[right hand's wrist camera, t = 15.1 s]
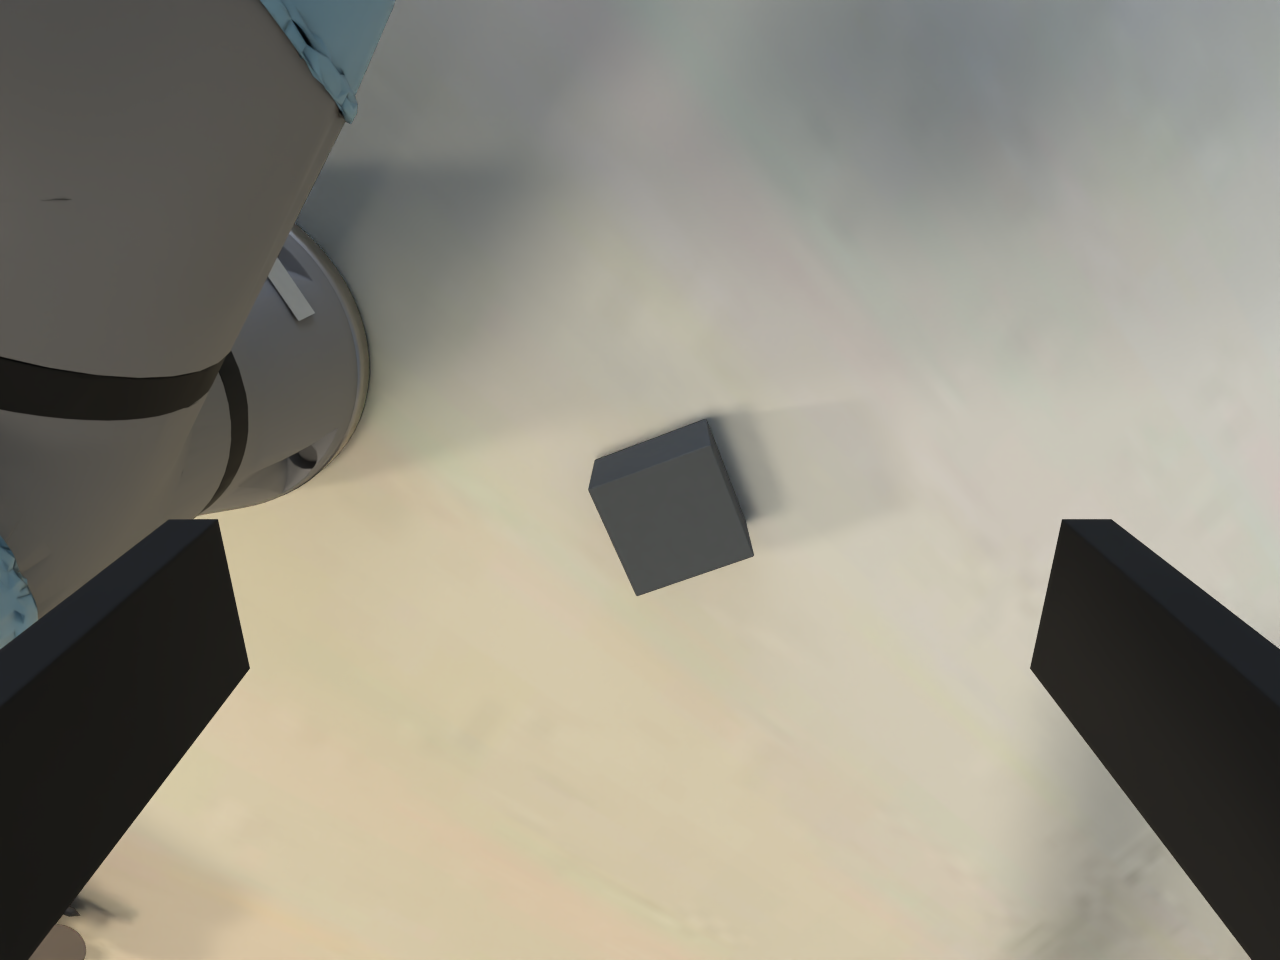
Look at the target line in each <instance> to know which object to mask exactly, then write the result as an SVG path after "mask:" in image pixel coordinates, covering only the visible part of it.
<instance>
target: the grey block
mask: <svg viewBox="0 0 1280 960" xmlns="http://www.w3.org/2000/svg"><path fill="white" fill-rule="evenodd" d="M588 490H589V493H590V495H591V497H592V499H593V501H594V504H595V506H596V508H597V510H598V512H599V515H600V517H601V519H602V521H603V523H604V526H605V528H606V530H607V532H608V535H609V537H610V539H611V541H612V543H613V546H614V548H615V550H616V552H617V554H618V557H619V559H620V561H621V563H622V565H623V568H624V570H625V572H626V574H627V576H628V579H629V581H630V583H631V585H632V587H633V590H634V592H635V594H636V596H639V595H642V594H645V593H648V592H651V591H654V590H657V589H659V588H662V587H665V586H668V585H671V584H674V583H677V582H680V581H683V580H686V579H689V578H692V577H695V576H697V575H700V574H703V573H706V572H709V571H712V570H715V569H718V568H721V567H724V566H727V565H730V564H732V563H735V562H738V561H741V560H744V559H747V558H750V557H753V556H754V553H753V549H752V545H751V541H750V537H749V533H748V529H747V525H746V521H745V518H744V516H743V513H742V511H741V508H740V505H739V503H738V500H737V498H736V495H735V492H734V490H733V487H732V485H731V482H730V479H729V477H728V474H727V472H726V469H725V467H724V464H723V461H722V459H721V456H720V454H719V451H718V448H717V446H716V443H715V441H714V438H713V435H712V433H711V430H710V428H709V425H708V422H707V420H706V419H704V420H702V421H699V422H696V423H694V424H691V425H688V426H686V427H683V428H680V429H677V430H675V431H672V432H669V433H667V434H664V435H661V436H659V437H656V438H653V439H651V440H648V441H645V442H643V443H640V444H637V445H635V446H632V447H629V448H627V449H624V450H621V451H619V452H616V453H613V454H611V455H608V456H605V457H603V458H600V459H597V460H595V462H594V466H593V471H592V475H591V480H590V484H589V489H588Z"/></svg>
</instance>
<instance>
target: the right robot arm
mask: <svg viewBox="0 0 1280 960" xmlns="http://www.w3.org/2000/svg"><path fill="white" fill-rule="evenodd" d="M394 3H395V0H0V960H29V958H30V957H31V956H32V954H33V953H34V952H35V950H36V949H37V948H38V946H39V945H40V944H41V942H42V941H43V940H44V938H45V937H46V936H47V935H48V933H49V932H50V931H51V929H52V928H53V927H54V925H55V924H56V923H57V921H58V920H59V919H60V917H61V916H62V915H63V913H64V912H65V911H66V910H67V908H68V907H69V906H70V904H71V903H72V902H73V900H74V899H75V898H76V896H77V895H78V894H79V892H80V891H81V890H82V889H83V887H84V886H85V885H86V883H87V882H88V881H89V879H90V878H91V877H92V875H93V874H94V873H95V871H96V870H97V869H98V867H99V866H100V865H101V864H102V862H103V861H104V860H105V858H106V857H107V856H108V854H109V853H110V852H111V850H112V849H113V848H114V846H115V845H116V844H117V842H118V841H119V840H120V839H121V837H122V836H123V835H124V833H125V832H126V831H127V829H128V828H129V827H130V825H131V824H132V823H133V821H134V820H135V819H136V818H137V816H138V815H139V814H140V812H141V811H142V810H143V808H144V807H145V806H146V804H147V803H148V802H149V800H150V799H151V798H152V796H153V795H154V794H155V793H156V791H157V790H158V789H159V787H160V786H161V785H162V783H163V782H164V781H165V779H166V778H167V777H168V775H169V774H170V773H171V771H172V770H173V769H174V768H175V766H176V765H177V764H178V762H179V761H180V760H181V758H182V757H183V756H184V754H185V753H186V752H187V750H188V749H189V748H190V747H191V745H192V744H193V743H194V741H195V740H196V739H197V737H198V736H199V735H200V733H201V732H202V731H203V729H204V728H205V727H206V725H207V724H208V723H209V722H210V720H211V719H212V718H213V716H214V715H215V714H216V712H217V711H218V710H219V708H220V707H221V706H222V704H223V703H224V702H225V700H226V699H227V698H228V697H229V695H230V694H231V693H232V691H233V690H234V689H235V687H236V686H237V685H238V683H239V682H240V681H241V679H242V678H243V677H244V676H245V674H246V673H247V672H248V670H249V669H250V667H249V662H248V657H247V653H246V648H245V643H244V639H243V634H242V629H241V625H240V620H239V616H238V611H237V606H236V602H235V597H234V592H233V588H232V583H231V578H230V574H229V569H228V564H227V560H226V555H225V550H224V546H223V541H222V536H221V532H220V527H219V522H218V519H194V518H195V517H196V516H199V515H204V514H210V513H216V512H221V511H227V510H233V509H239V508H244V507H249V506H254V505H258V504H261V503H265V502H267V501H270V500H273V499H275V498H277V497H280V496H282V495H285V494H287V493H289V492H291V491H293V490H295V489H297V488H299V487H300V486H302V485H303V484H305V483H306V482H308V481H309V480H310V479H312V478H313V477H314V476H315V475H316V474H318V473H319V472H320V471H321V470H322V469H323V468H325V467H326V466H327V465H328V464H329V463H330V462H331V461H332V460H333V459H334V458H335V457H336V456H337V455H338V454H339V453H340V452H341V450H342V449H343V448H344V446H345V445H346V444H347V442H348V441H349V439H350V437H351V436H352V434H353V432H354V431H355V429H356V426H357V424H358V422H359V420H360V417H361V414H362V411H363V408H364V405H365V401H366V396H367V391H368V382H369V355H368V345H367V340H366V335H365V330H364V327H363V323H362V320H361V317H360V313H359V311H358V308H357V306H356V304H355V301H354V299H353V297H352V295H351V293H350V291H349V289H348V287H347V285H346V283H345V281H344V280H343V278H342V276H341V275H340V273H339V272H338V270H337V268H336V267H335V266H334V264H333V263H332V262H331V260H330V259H329V258H328V256H327V255H326V254H325V253H324V252H323V250H322V249H321V248H320V247H319V246H318V245H317V244H316V243H315V242H314V240H312V239H311V238H310V237H309V236H308V235H307V234H306V233H305V232H304V231H303V230H302V229H301V228H300V227H298V226H297V225H296V224H295V221H296V219H297V217H298V215H299V213H300V211H301V209H302V207H303V205H304V203H305V201H306V199H307V197H308V195H309V193H310V191H311V189H312V187H313V185H314V183H315V181H316V179H317V177H318V175H319V173H320V171H321V169H322V167H323V165H324V163H325V161H326V159H327V157H328V155H329V153H330V151H331V149H332V147H333V145H334V143H335V141H336V139H337V137H338V135H339V133H340V131H341V129H342V127H343V125H344V123H345V122H347V123H349V124H352V122H353V119H354V118H355V116H356V114H357V107H358V104H357V101H356V98H355V95H356V93H357V90H358V88H359V86H360V83H361V81H362V79H363V76H364V74H365V72H366V69H367V67H368V65H369V62H370V60H371V58H372V55H373V53H374V51H375V48H376V46H377V44H378V42H379V39H380V37H381V35H382V32H383V30H384V28H385V25H386V23H387V21H388V18H389V16H390V14H391V11H392V9H393V6H394ZM1030 669H1031V670H1032V672H1033V673H1034V674H1035V676H1036V677H1037V678H1038V679H1039V681H1040V682H1041V683H1042V685H1043V686H1044V687H1045V689H1046V690H1047V691H1048V693H1049V694H1050V695H1051V697H1052V698H1053V699H1054V700H1055V702H1056V703H1057V704H1058V706H1059V707H1060V708H1061V710H1062V711H1063V712H1064V714H1065V715H1066V716H1067V718H1068V719H1069V720H1070V722H1071V723H1072V724H1073V725H1074V727H1075V728H1076V729H1077V731H1078V732H1079V733H1080V735H1081V736H1082V737H1083V739H1084V740H1085V741H1086V743H1087V744H1088V745H1089V747H1090V748H1091V749H1092V750H1093V752H1094V753H1095V754H1096V756H1097V757H1098V758H1099V760H1100V761H1101V762H1102V764H1103V765H1104V766H1105V768H1106V769H1107V770H1108V771H1109V773H1110V774H1111V775H1112V777H1113V778H1114V779H1115V781H1116V782H1117V783H1118V785H1119V786H1120V787H1121V789H1122V790H1123V791H1124V793H1125V794H1126V795H1127V796H1128V798H1129V799H1130V800H1131V802H1132V803H1133V804H1134V806H1135V807H1136V808H1137V810H1138V811H1139V812H1140V814H1141V815H1142V816H1143V818H1144V819H1145V820H1146V821H1147V823H1148V824H1149V825H1150V827H1151V828H1152V829H1153V831H1154V832H1155V833H1156V835H1157V836H1158V837H1159V839H1160V840H1161V841H1162V842H1163V844H1164V845H1165V846H1166V848H1167V849H1168V850H1169V852H1170V853H1171V854H1172V856H1173V857H1174V858H1175V860H1176V861H1177V862H1178V864H1179V865H1180V866H1181V867H1182V869H1183V870H1184V871H1185V873H1186V874H1187V875H1188V877H1189V878H1190V879H1191V881H1192V882H1193V883H1194V885H1195V886H1196V887H1197V889H1198V890H1199V891H1200V892H1201V894H1202V895H1203V896H1204V898H1205V899H1206V900H1207V902H1208V903H1209V904H1210V906H1211V907H1212V908H1213V910H1214V911H1215V912H1216V913H1217V915H1218V916H1219V917H1220V919H1221V920H1222V921H1223V923H1224V924H1225V925H1226V927H1227V928H1228V929H1229V931H1230V932H1231V933H1232V935H1233V936H1234V937H1235V938H1236V940H1237V941H1238V942H1239V944H1240V945H1241V946H1242V948H1243V949H1244V950H1245V952H1246V953H1247V954H1248V956H1249V957H1250V958H1251V960H1280V649H1279V648H1277V647H1276V646H1275V645H1273V644H1272V643H1271V642H1270V641H1268V640H1267V639H1266V638H1264V637H1263V636H1262V635H1261V634H1259V633H1258V632H1257V631H1255V630H1254V629H1253V628H1251V627H1250V626H1249V625H1248V624H1246V623H1245V622H1244V621H1242V620H1241V619H1240V618H1239V617H1237V616H1236V615H1235V614H1233V613H1232V612H1231V611H1229V610H1228V609H1227V608H1226V607H1224V606H1223V605H1222V604H1220V603H1219V602H1218V601H1216V600H1215V599H1214V598H1213V597H1211V596H1210V595H1209V594H1207V593H1206V592H1205V591H1204V590H1202V589H1201V588H1200V587H1198V586H1197V585H1196V584H1194V583H1193V582H1192V581H1191V580H1189V579H1188V578H1187V577H1185V576H1184V575H1183V574H1182V573H1180V572H1179V571H1178V570H1176V569H1175V568H1174V567H1172V566H1171V565H1170V564H1169V563H1167V562H1166V561H1165V560H1163V559H1162V558H1161V557H1159V556H1158V555H1157V554H1156V553H1154V552H1153V551H1152V550H1150V549H1149V548H1148V547H1147V546H1145V545H1144V544H1143V543H1141V542H1140V541H1139V540H1137V539H1136V538H1135V537H1134V536H1132V535H1131V534H1130V533H1128V532H1127V531H1126V530H1125V529H1123V528H1122V527H1121V526H1119V525H1118V524H1117V523H1115V522H1114V521H1113V520H1112V519H1062V522H1061V527H1060V532H1059V536H1058V541H1057V546H1056V550H1055V555H1054V560H1053V564H1052V569H1051V574H1050V578H1049V583H1048V588H1047V592H1046V597H1045V602H1044V606H1043V611H1042V615H1041V620H1040V625H1039V629H1038V634H1037V639H1036V643H1035V648H1034V653H1033V657H1032V662H1031V667H1030Z"/></svg>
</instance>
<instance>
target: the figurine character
mask: <svg viewBox="0 0 1280 960" xmlns="http://www.w3.org/2000/svg"><path fill="white" fill-rule="evenodd" d="M63 914H64V915H67V916H80V915H79V913H78V912H77V911H76V910H75V908H72V907H68V908H67V910H66V911H65V912H64V913H63ZM85 955H86V946H85V942H84V940H83V938H82V937H81V935H80V934H79V933H78V932H77V931H75V930H74V929H72V928H70V927H67V926H64V925H58V924H55V925H54V927H53V928H52V929H51V931H50V932H49V933H48V935H47V936H46V937H45V938H44V940H43V941H42V942H41V944H40V945H39V946H38V948H37V949H36V950H35V952H34V953H33V954H32V956H31V957H30V958H29V960H84V958H85Z"/></svg>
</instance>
